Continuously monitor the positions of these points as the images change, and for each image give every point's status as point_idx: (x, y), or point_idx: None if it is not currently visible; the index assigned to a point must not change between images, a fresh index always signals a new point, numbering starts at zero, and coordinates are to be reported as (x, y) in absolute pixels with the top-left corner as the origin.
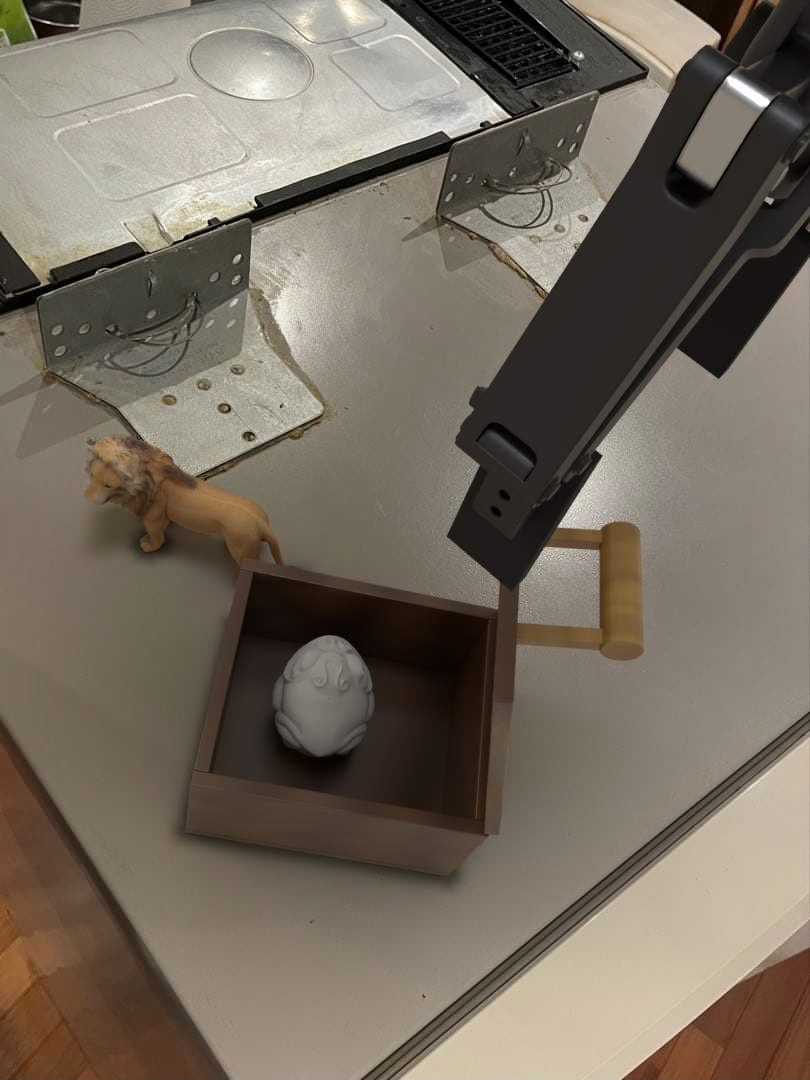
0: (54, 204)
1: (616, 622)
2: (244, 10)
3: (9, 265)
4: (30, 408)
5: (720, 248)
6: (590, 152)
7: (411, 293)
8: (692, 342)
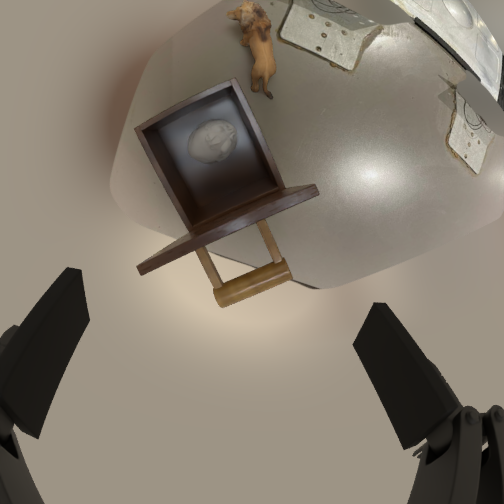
0: None
1: (225, 293)
2: (470, 3)
3: None
4: None
5: None
6: (498, 137)
7: (421, 85)
8: (370, 328)
